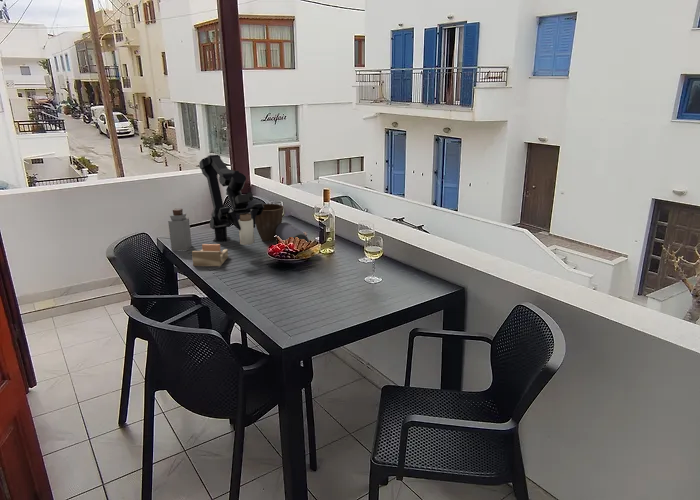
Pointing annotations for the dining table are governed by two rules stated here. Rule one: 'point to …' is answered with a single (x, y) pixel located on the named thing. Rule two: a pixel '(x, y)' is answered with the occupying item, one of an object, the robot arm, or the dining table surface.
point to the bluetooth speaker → (289, 232)
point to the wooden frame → (209, 257)
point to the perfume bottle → (179, 231)
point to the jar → (246, 229)
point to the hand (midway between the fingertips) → (247, 228)
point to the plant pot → (269, 221)
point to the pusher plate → (211, 247)
